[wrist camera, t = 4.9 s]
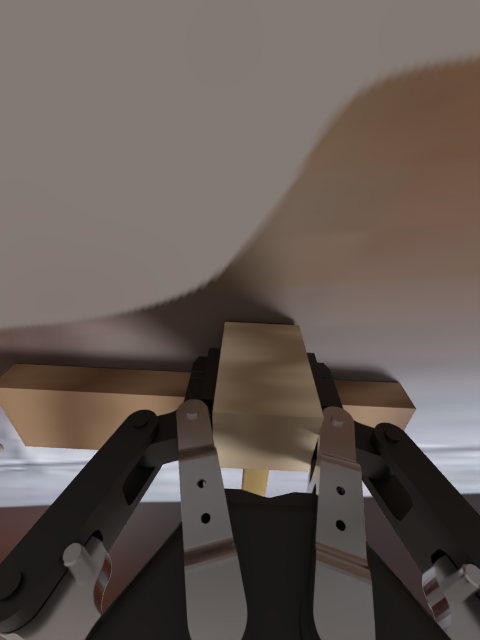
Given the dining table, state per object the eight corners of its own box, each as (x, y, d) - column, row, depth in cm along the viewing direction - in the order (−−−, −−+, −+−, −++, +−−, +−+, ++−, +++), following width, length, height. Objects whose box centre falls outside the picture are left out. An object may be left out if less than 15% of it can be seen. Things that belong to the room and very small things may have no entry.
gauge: (299, 325, 15) (324, 417, 10) (278, 437, 20) (288, 535, 15) (224, 321, 15) (212, 412, 10) (223, 434, 20) (214, 531, 15)
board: (399, 383, 17) (416, 409, 16) (373, 437, 20) (385, 465, 19) (14, 363, 17) (-12, 388, 16) (44, 420, 20) (25, 446, 19)
